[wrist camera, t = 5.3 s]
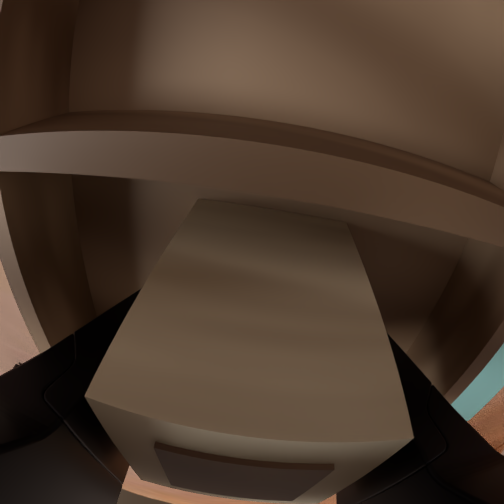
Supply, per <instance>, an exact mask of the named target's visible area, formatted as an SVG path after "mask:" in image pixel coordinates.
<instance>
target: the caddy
mask: <svg viewBox="0 0 504 504" xmlns="http://www.w3.org/2000/svg"><path fill="white" fill-rule="evenodd" d="M198 199H205V200H212V201H220V202H227V203H234V204H240V205H247V206H254V207H260V208H266V209H273V210H279V211H285V212H291V213H297V214H303V215H309V216H314V217H320V218H326V219H331V220H336V221H342V222H346V223H347V225H348V228H349V230H350V233H351V235H352V238H353V240H354V243H355V245H356V248H357V250H358V253H359V255H360V258H361V261H362V263H363V266H364V268H365V271H366V274H367V277H368V279H369V282H370V285H371V288H372V290H373V293H374V296H375V299H376V302H377V305H378V308H379V311H380V314H381V317H382V320H383V323H384V326H385V329H386V332H387V333H388V334H389V335H390V336H391V338H392V339H393V340H394V341H395V342H396V343H397V344H398V345H399V346H400V347H401V349H402V350H403V351H404V352H405V353H406V354H407V355H408V356H409V358H410V359H411V360H412V361H413V362H414V363H415V364H416V365H417V367H418V368H419V369H420V370H421V371H422V372H423V373H424V375H425V376H426V377H427V378H428V379H429V380H430V381H431V383H432V384H431V385H434V386H435V387H436V388H437V389H438V391H439V392H440V393H441V394H442V395H443V396H444V397H445V399H446V400H447V401H448V402H449V403H450V404H452V403H453V402H454V401H455V400H456V399H457V398H458V397H459V396H460V395H461V394H462V392H463V391H464V390H465V389H466V388H467V387H468V386H469V385H470V384H471V383H472V382H473V380H474V379H475V378H476V377H477V376H478V375H479V373H480V372H481V371H482V370H483V369H484V368H485V366H486V365H487V364H488V363H489V361H490V360H491V359H492V358H493V356H494V355H495V354H496V353H497V351H498V350H499V349H500V347H501V346H502V345H503V343H504V0H0V259H1V262H2V265H3V268H4V271H5V274H6V277H7V279H8V282H9V285H10V288H11V290H12V293H13V295H14V298H15V300H16V303H17V305H18V308H19V310H20V312H21V315H22V317H23V319H24V321H25V324H26V326H27V328H28V330H29V332H30V334H31V336H32V338H33V340H34V342H35V344H36V346H37V348H38V350H39V352H40V353H42V352H44V351H46V350H47V349H49V348H50V347H52V346H53V345H55V344H57V343H58V342H60V341H61V340H63V339H64V338H66V337H67V336H69V335H70V334H74V332H75V331H76V330H78V329H79V328H81V327H82V326H84V325H86V324H87V323H89V322H90V321H92V320H93V319H95V318H96V317H98V316H99V315H101V314H102V313H104V312H105V311H107V310H108V309H110V308H111V307H113V306H115V305H116V304H118V303H119V302H121V301H122V300H124V299H125V298H127V297H129V296H130V295H132V294H133V293H135V292H136V291H138V290H140V289H141V288H142V287H143V286H144V284H145V282H146V280H147V279H148V277H149V275H150V274H151V272H152V270H153V269H154V267H155V265H156V264H157V262H158V261H159V259H160V257H161V256H162V254H163V252H164V251H165V249H166V248H167V246H168V244H169V243H170V241H171V240H172V238H173V237H174V235H175V233H176V232H177V230H178V229H179V227H180V226H181V224H182V223H183V221H184V219H185V218H186V216H187V215H188V213H189V212H190V210H191V209H192V207H193V206H194V204H195V203H196V201H197V200H198Z"/></svg>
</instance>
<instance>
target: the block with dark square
mask: <svg viewBox="0 0 504 504" xmlns="http://www.w3.org/2000/svg"><path fill="white" fill-rule="evenodd" d="M85 398H86V400H87V402H88V403H89V405H90V407H91V408H92V410H93V412H94V413H95V415H96V417H97V418H98V420H99V421H100V423H101V425H102V426H103V428H104V429H105V431H106V432H107V434H108V435H109V437H110V438H111V440H112V441H113V443H114V444H115V446H116V447H117V448H118V450H119V451H120V453H121V454H122V455H123V457H124V458H125V459H126V461H127V462H128V463H129V465H130V466H131V467H132V469H133V470H134V471H135V473H136V474H137V475H138V476H139V478H140V479H141V480H144V481H148V482H151V483H155V484H159V485H162V486H166V487H170V488H175V489H179V490H183V491H188V492H193V493H198V494H203V495H209V496H215V497H222V498H229V499H237V500H245V501H256V502H269V503H295V504H313V503H320V502H322V501H323V500H325V499H327V498H329V497H330V496H332V495H334V494H336V493H337V492H339V491H341V490H342V489H344V488H346V487H347V486H349V485H350V484H352V483H354V482H355V481H357V480H358V479H360V478H361V477H363V476H364V475H366V474H367V473H369V472H370V471H372V470H373V469H374V468H376V467H377V466H379V465H380V464H381V463H383V462H384V461H386V460H387V459H388V458H390V457H391V456H392V455H393V454H395V453H396V452H397V451H399V450H400V449H401V448H402V447H404V446H405V445H406V444H407V443H409V442H410V441H411V440H412V439H413V438H414V436H413V431H412V427H411V422H410V417H409V413H408V409H407V405H406V400H405V396H404V392H403V388H402V385H401V381H400V377H399V373H398V370H397V366H396V363H395V359H394V356H393V352H392V349H391V345H390V342H389V339H388V336H387V332H386V329H385V326H384V323H383V320H382V317H381V314H380V311H379V308H378V305H377V302H376V299H375V296H374V293H373V290H372V288H371V285H370V282H369V279H368V277H367V274H366V271H365V268H364V266H363V263H362V261H361V258H360V255H359V253H358V250H357V248H356V245H355V243H354V240H353V238H352V235H351V233H350V230H349V228H348V225H347V223H346V222H342V221H336V220H331V219H326V218H320V217H314V216H309V215H303V214H297V213H291V212H285V211H279V210H273V209H266V208H260V207H254V206H247V205H240V204H234V203H227V202H220V201H212V200H205V199H198V200H197V201H196V203H195V204H194V206H193V207H192V209H191V210H190V212H189V213H188V215H187V216H186V218H185V219H184V221H183V223H182V224H181V226H180V227H179V229H178V230H177V232H176V233H175V235H174V237H173V238H172V240H171V241H170V243H169V244H168V246H167V248H166V249H165V251H164V252H163V254H162V256H161V257H160V259H159V261H158V262H157V264H156V265H155V267H154V269H153V270H152V272H151V274H150V275H149V277H148V279H147V280H146V282H145V284H144V286H143V287H142V289H141V291H140V292H139V294H138V296H137V298H136V299H135V301H134V303H133V305H132V306H131V308H130V310H129V312H128V313H127V315H126V317H125V319H124V321H123V322H122V324H121V326H120V328H119V330H118V331H117V333H116V335H115V337H114V339H113V341H112V343H111V344H110V346H109V348H108V350H107V352H106V354H105V356H104V358H103V360H102V362H101V364H100V366H99V368H98V369H97V371H96V373H95V375H94V377H93V379H92V381H91V384H90V386H89V388H88V390H87V392H86V394H85Z"/></svg>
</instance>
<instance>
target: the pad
mask: <svg viewBox="0 0 504 504" xmlns="http://www.w3.org/2000/svg"><path fill="white" fill-rule="evenodd" d="M503 386H504V343H503V345H502V346H501V347H500V349H499V350H498V351H497V353H496V354H495V355H494V356H493V358H492V359H491V360H490V361H489V363H488V364H487V365H486V366H485V368H484V369H483V370H482V371H481V372H480V373H479V375H478V376H477V377H476V378H475V379H474V380H473V382H472V383H471V384H470V385H469V386H468V387H467V388H466V389H465V390H464V391H463V392H462V394H461V395H460V396H459V397H458V398H457V399H456V400H455V401H454V402H453V403H452V404H451V405H452V407H453V408H454V409H455V410H456V411H457V412H458V413H459V414H460V415H461V416H462V417H463V418H464V419H465V420H466V421H469V420H470V419H471V418H472V417H473V416H474V415H475V414H476V413H477V412H478V411H480V410H481V409H482V408H483V407H484V406H485V405H486V404H487V403H488V402H489V401H490V400H491V399H492V398H493V397H494V396H495V395H496V394H497V393H498V392H499V391H500V389H501V388H502V387H503Z"/></svg>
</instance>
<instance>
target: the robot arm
mask: <svg viewBox="0 0 504 504" xmlns="http://www.w3.org/2000/svg"><path fill="white" fill-rule="evenodd" d="M141 289H142V288H141ZM141 289H140V290H138V291H136V292H135V293H133V294H132V295H130V296H129V297H127V298H125V299H124V300H122V301H121V302H119V303H118V304H116V305H115V306H113V307H111V308H110V309H108V310H107V311H105V312H104V313H102V314H101V315H99V316H98V317H96V318H95V319H93V320H92V321H90V322H89V323H87V324H86V325H84V326H82V327H81V328H79V329H78V330H76V331H75V332H74V334H70V335H69V336H67V337H66V338H64V339H63V340H61V341H60V342H58V343H57V344H55V345H53V346H52V347H50V348H49V349H47V350H46V351H44V352H42V353H40V354H39V355H37V356H35V357H33V358H32V359H30V360H28V361H26V362H25V363H23V364H21V365H17V364H15V366H14V367H13V369H12V370H10V371H8V372H6V373H4V374H3V375H1V376H0V504H117V500H118V497H119V494H120V492H121V489H122V484H123V482H124V479H125V476H126V474H127V471H128V468H129V463H128V462H127V461H126V459H125V458H124V457H123V455H122V454H121V453H120V451H119V450H118V448H117V447H116V446H115V444H114V443H113V441H112V440H111V438H110V437H109V435H108V434H107V432H106V431H105V429H104V428H103V426H102V425H101V423H100V421H99V420H98V418H97V417H96V415H95V413H94V412H93V410H92V408H91V407H90V405H89V403H88V402H87V400H86V398H85V394H86V392H87V390H88V388H89V386H90V384H91V381H92V379H93V377H94V375H95V373H96V371H97V369H98V368H99V366H100V364H101V362H102V360H103V358H104V356H105V354H106V352H107V350H108V348H109V346H110V344H111V343H112V341H113V339H114V337H115V335H116V333H117V331H118V330H119V328H120V326H121V324H122V322H123V321H124V319H125V317H126V315H127V313H128V312H129V310H130V308H131V306H132V305H133V303H134V301H135V299H136V298H137V296H138V294H139V292H140V291H141ZM387 336H388V339H389V342H390V345H391V349H392V352H393V356H394V359H395V363H396V366H397V370H398V373H399V377H400V381H401V385H402V388H403V392H404V396H405V400H406V405H407V409H408V413H409V417H410V422H411V427H412V431H413V436H414V438H413V439H412V440H411V441H410V442H409V443H407V444H406V445H405V446H404V447H402V448H401V449H400V450H399V451H397V452H396V453H395V454H393V455H392V456H391V457H390V458H388V459H387V460H386V461H384V462H383V463H381V464H380V465H379V466H377V467H376V468H374V469H373V470H372V471H370V472H369V473H367V474H366V475H364V476H363V477H361V478H360V479H358V480H357V481H355V482H354V483H352V484H350V485H349V486H347V487H346V488H344V489H342V490H341V491H339V492H337V493H336V498H337V504H504V456H503V455H501V454H500V453H499V452H497V451H496V450H495V449H494V448H493V447H492V446H491V445H490V444H489V443H488V442H487V441H486V440H485V439H484V438H483V437H482V436H481V435H480V434H479V433H478V432H477V431H476V430H475V429H474V428H473V427H472V426H471V425H470V424H469V423H468V422H467V421H466V420H465V419H464V418H463V417H462V416H461V415H460V414H459V413H458V412H457V411H456V410H455V409H454V408H453V407H452V405H451V404H450V403H449V402H448V401H447V400H446V399H445V397H444V396H443V395H442V394H441V393H440V392H439V391H438V389H437V388H436V387H435V386H434V385H431V384H432V383H431V381H430V380H429V379H428V378H427V377H426V376H425V375H424V373H423V372H422V371H421V370H420V369H419V368H418V367H417V365H416V364H415V363H414V362H413V361H412V360H411V359H410V358H409V356H408V355H407V354H406V353H405V352H404V351H403V350H402V349H401V347H400V346H399V345H398V344H397V343H396V342H395V341H394V340H393V339H392V338H391V336H390V335H389V334H388V333H387Z"/></svg>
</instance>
